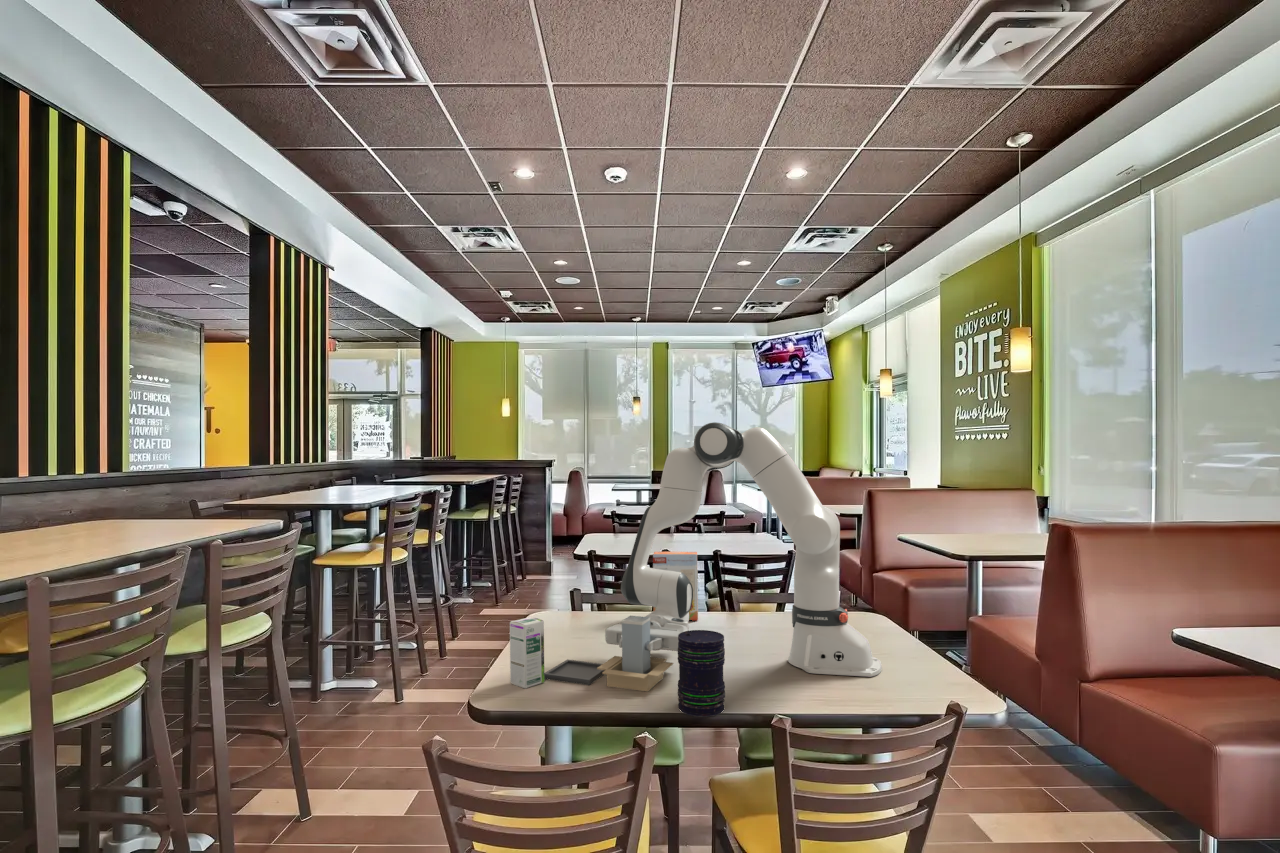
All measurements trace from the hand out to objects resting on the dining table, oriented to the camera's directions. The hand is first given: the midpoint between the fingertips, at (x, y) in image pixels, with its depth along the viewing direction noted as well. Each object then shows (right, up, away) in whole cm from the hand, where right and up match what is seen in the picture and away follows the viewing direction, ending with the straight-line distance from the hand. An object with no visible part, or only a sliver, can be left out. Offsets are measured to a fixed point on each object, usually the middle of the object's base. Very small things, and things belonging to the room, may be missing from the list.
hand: (634, 645), depth 165 cm
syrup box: (-25, -9, 0) cm, 26 cm away
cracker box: (+13, -10, +60) cm, 62 cm away
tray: (-14, -9, +6) cm, 18 cm away
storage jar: (+14, -8, -16) cm, 23 cm away
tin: (0, -8, +1) cm, 8 cm away
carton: (0, -9, +1) cm, 9 cm away
